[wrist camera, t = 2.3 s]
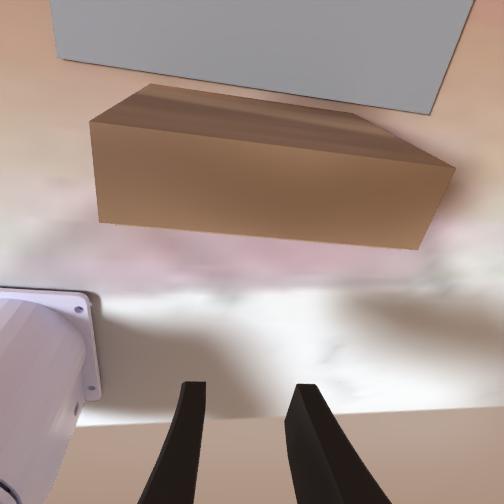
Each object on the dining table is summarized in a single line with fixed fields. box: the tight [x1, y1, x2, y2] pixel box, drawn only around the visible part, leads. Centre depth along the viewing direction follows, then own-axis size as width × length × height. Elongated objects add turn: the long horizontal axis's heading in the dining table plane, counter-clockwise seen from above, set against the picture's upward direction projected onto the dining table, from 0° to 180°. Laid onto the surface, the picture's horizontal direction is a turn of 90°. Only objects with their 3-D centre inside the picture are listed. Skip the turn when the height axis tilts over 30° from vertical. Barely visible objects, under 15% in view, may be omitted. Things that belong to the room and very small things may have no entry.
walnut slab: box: [89, 84, 456, 250], centre depth 12 cm, size 3×9×8 cm, turn 82°
